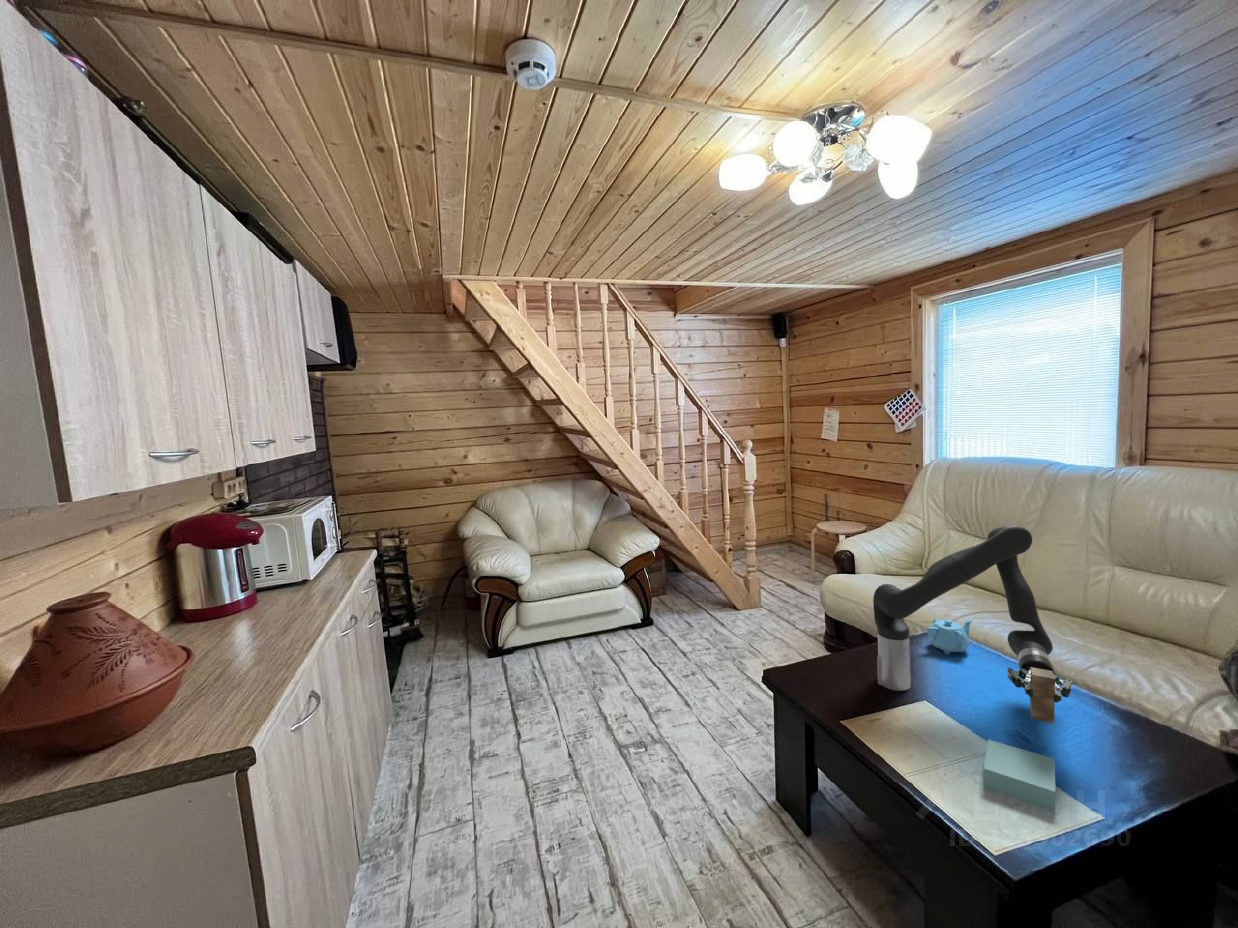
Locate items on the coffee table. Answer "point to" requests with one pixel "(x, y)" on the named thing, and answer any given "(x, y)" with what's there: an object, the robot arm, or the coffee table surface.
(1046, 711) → the walnut pillar
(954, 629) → the teapot
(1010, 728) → the coffee table surface
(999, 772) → the teal block
